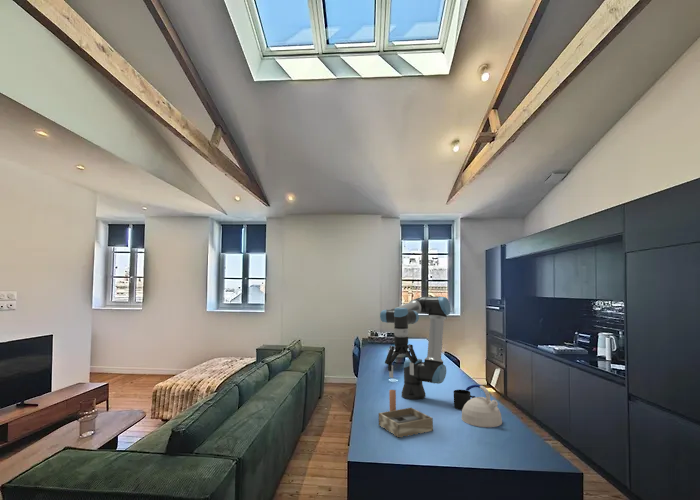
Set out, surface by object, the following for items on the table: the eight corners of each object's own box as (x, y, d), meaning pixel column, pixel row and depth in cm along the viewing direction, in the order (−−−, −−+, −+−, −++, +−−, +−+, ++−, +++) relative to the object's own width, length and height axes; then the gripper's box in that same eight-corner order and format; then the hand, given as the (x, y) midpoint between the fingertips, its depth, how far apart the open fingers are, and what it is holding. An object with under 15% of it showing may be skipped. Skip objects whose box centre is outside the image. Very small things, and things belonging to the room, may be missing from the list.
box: (378, 425, 192) (378, 413, 193) (411, 419, 201) (411, 407, 202) (398, 438, 176) (398, 424, 177) (432, 430, 185) (432, 417, 186)
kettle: (482, 430, 185) (481, 392, 187) (453, 417, 204) (452, 383, 206) (511, 423, 195) (510, 387, 197) (480, 412, 213) (479, 378, 215)
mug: (476, 411, 215) (476, 394, 215) (454, 409, 217) (454, 393, 218) (474, 405, 224) (473, 390, 225) (453, 404, 226) (452, 389, 227)
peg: (388, 416, 205) (388, 390, 206) (393, 415, 207) (393, 389, 208) (391, 418, 202) (391, 391, 203) (397, 417, 204) (396, 390, 205)
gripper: (385, 338, 199) (386, 379, 197) (423, 335, 211) (424, 375, 209) (378, 336, 206) (378, 377, 204) (415, 334, 218) (415, 372, 215)
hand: (401, 376), depth 206 cm, fingers open, 13 cm apart
